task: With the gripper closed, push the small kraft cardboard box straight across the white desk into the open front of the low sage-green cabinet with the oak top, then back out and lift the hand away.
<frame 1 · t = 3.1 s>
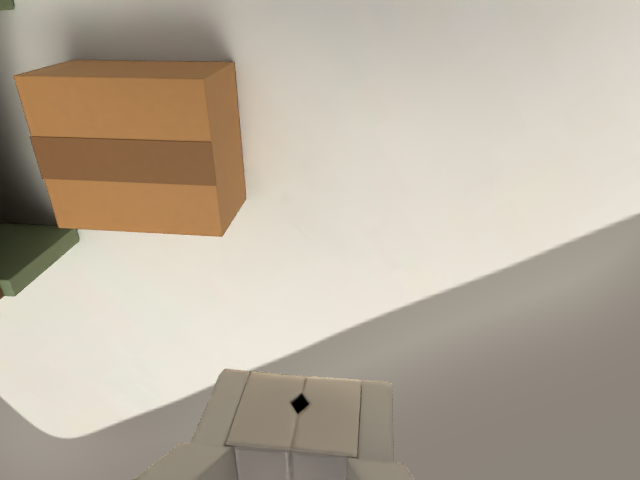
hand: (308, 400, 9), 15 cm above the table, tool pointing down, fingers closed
cardboard box: (163, 132, 23), on the table
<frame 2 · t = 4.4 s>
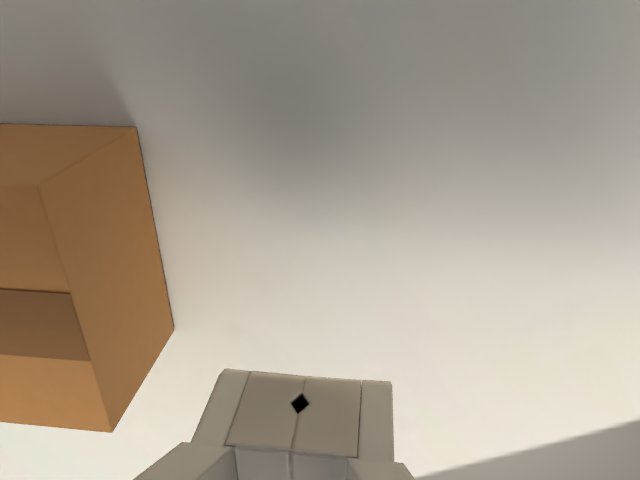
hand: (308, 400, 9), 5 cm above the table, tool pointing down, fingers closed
cardboard box: (35, 233, 14), on the table
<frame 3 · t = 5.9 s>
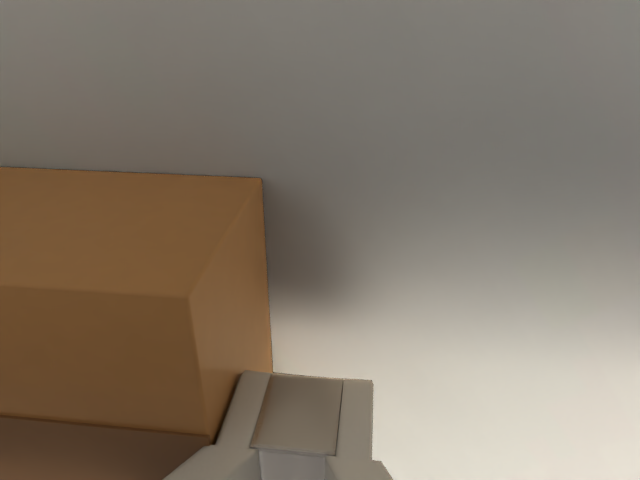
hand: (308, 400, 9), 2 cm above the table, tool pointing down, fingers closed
cardboard box: (109, 304, 11), on the table, touching gripper
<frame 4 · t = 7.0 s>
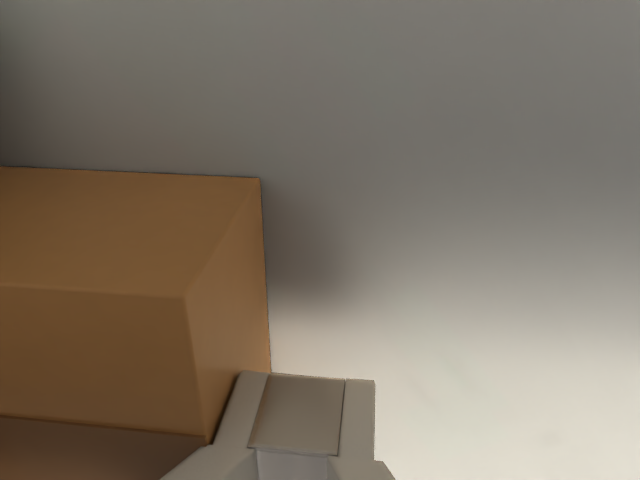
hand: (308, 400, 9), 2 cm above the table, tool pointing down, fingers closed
cardboard box: (107, 303, 11), on the table, touching gripper
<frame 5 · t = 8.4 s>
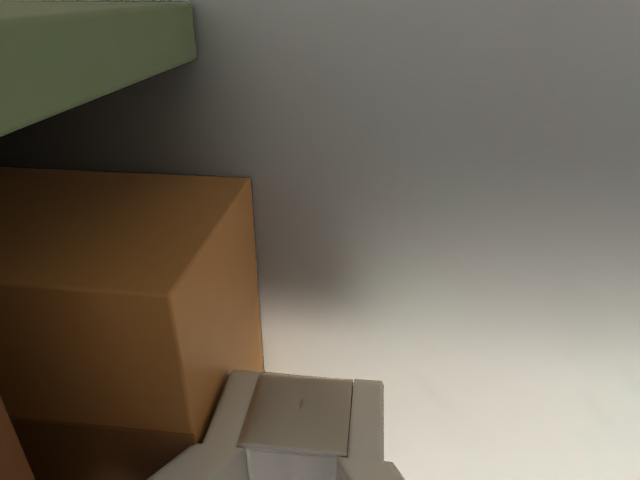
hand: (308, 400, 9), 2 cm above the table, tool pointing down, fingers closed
cabinet: (9, 295, 11), on the table
cardboard box: (100, 303, 11), on the table, touching gripper
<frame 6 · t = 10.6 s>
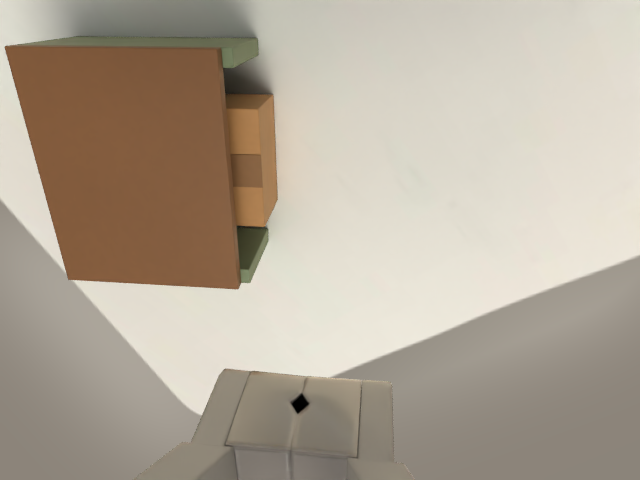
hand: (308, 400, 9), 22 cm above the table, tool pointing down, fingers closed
cabinet: (180, 146, 30), on the table
cardboard box: (214, 148, 29), on the table
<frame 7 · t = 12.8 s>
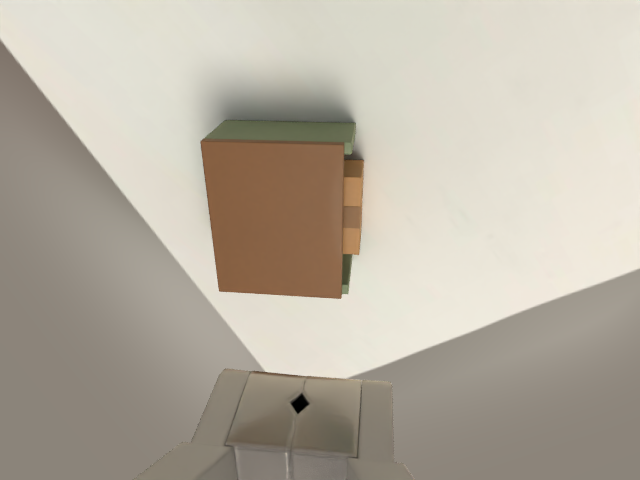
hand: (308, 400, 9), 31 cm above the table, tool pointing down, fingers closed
cabinet: (292, 194, 41), on the table
cardboard box: (317, 195, 41), on the table
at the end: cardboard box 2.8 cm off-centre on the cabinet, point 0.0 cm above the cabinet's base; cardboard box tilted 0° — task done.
